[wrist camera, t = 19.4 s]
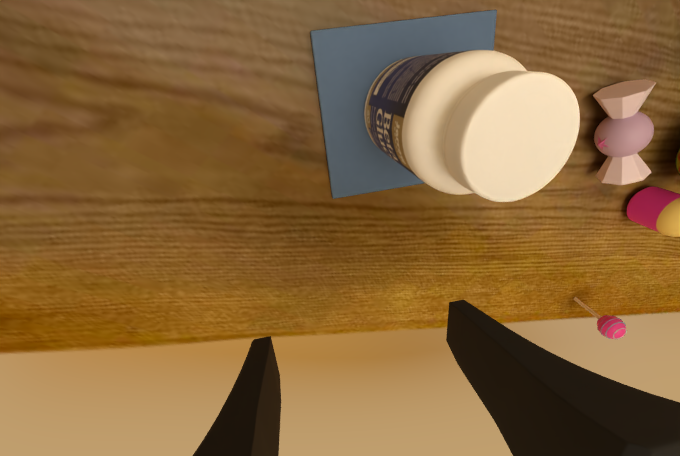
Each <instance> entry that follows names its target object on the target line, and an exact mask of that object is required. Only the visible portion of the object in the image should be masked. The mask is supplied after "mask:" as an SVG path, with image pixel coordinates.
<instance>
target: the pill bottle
mask: <svg viewBox="0 0 680 456" xmlns="http://www.w3.org/2000/svg"><path fill="white" fill-rule="evenodd" d="M364 116H365V124H366V128H367V131H368V133H369V135H370V137H371V139H372V141H373V142H374V143H375V145H376V146H377V147H378V148H379V149H380V150H381V151H383V152H384V153H385V154H386V155H388V156H389V157H390V158H392V159H393V160H395V161H396V162H397V163H399V164H400V165H401V166H403V167H404V168H405V169H407V170H408V171H409V172H411V173H412V174H413V175H415V176H416V177H417V178H419V179H420V180H422V181H423V182H425V183H426V184H428V185H429V186H431V187H433V188H434V189H437V190H439V191H442V192H445V193H449V194H457V195H461V194H471V193H475V194H477V195H479V196H481V197H483V198H485V199H488V200H491V201H496V202H511V201H516V200H519V199H522V198H525V197H527V196H530V195H531V194H533V193H535V192H537V191H538V190H540V189H541V188H543V187H544V186H545V185H546V184H548V183H549V182H550V181H551V180H552V179H553V178H554V177H555V176H556V175H557V173H558V172H559V171H560V170H561V169H562V167H563V166H564V164H565V163H566V161H567V160H568V158H569V156H570V154H571V152H572V150H573V148H574V145H575V142H576V139H577V136H578V131H579V124H580V115H579V106H578V102H577V99H576V97H575V95H574V93H573V91H572V90H571V88H570V87H569V86H568V85H567V84H566V83H565V82H564V81H563V80H562V79H560V78H558V77H556V76H554V75H552V74H549V73H545V72H534V71H527V70H526V69H525V68H524V67H523V66H522V65H521V64H520V63H519V62H518V61H517V60H515V59H514V58H512V57H510V56H508V55H506V54H503V53H501V52H497V51H491V50H468V51H459V52H451V53H441V54H432V55H422V56H414V57H408V58H405V59H401V60H399V61H396V62H394V63H393V64H391V65H389V66H388V67H387V68H385V69H384V70H383V71H382V72H381V73H380V74H379V75H378V77H377V78H376V79H375V81H374V82H373V84H372V86H371V88H370V90H369V92H368V95H367V98H366V102H365V111H364Z"/></svg>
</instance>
